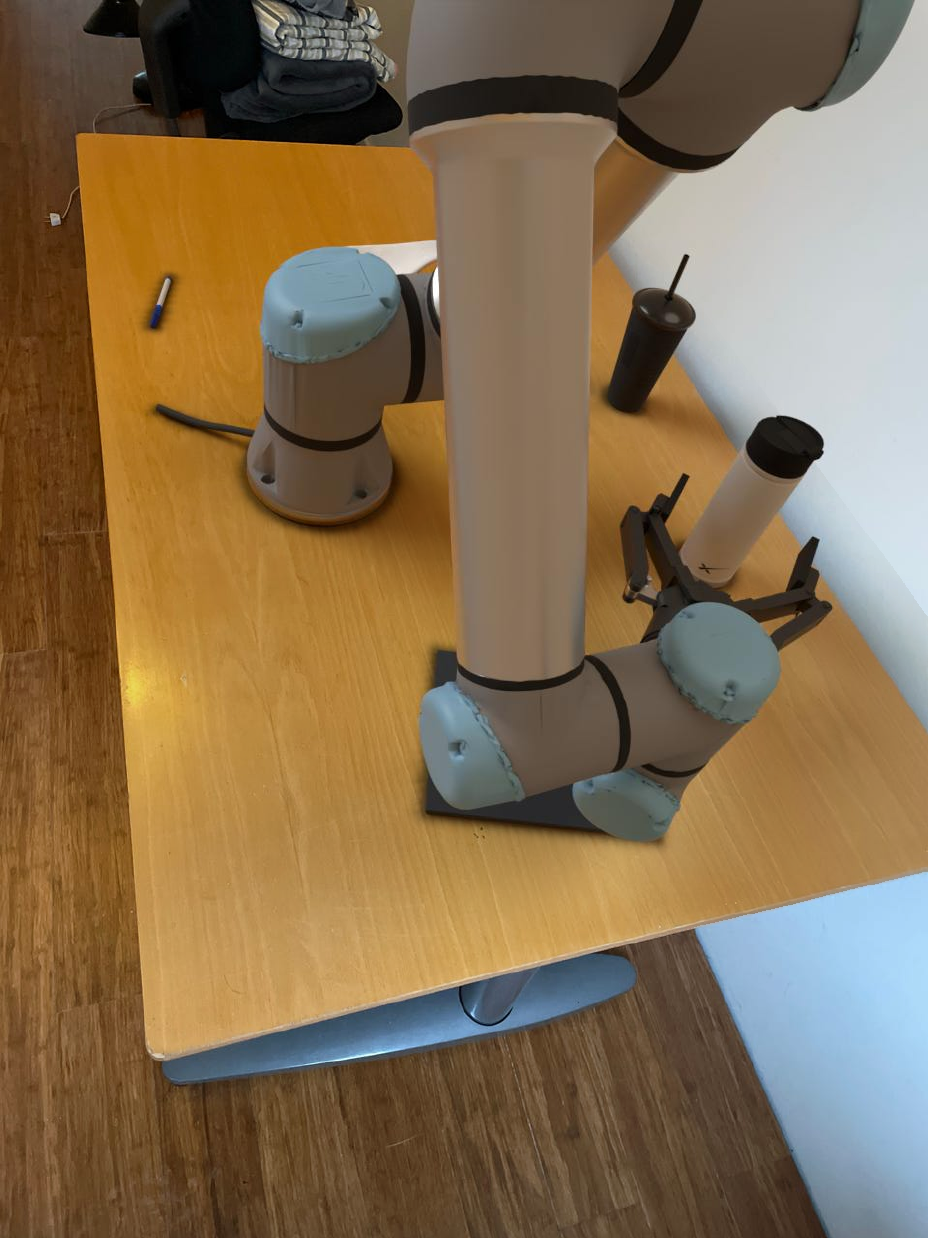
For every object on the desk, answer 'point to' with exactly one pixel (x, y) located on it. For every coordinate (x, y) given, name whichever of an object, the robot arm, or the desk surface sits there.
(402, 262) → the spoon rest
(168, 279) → the ballpoint pen
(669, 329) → the drinking cup
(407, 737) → the desk surface
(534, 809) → the slate mat
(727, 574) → the travel mug
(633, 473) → the desk surface
